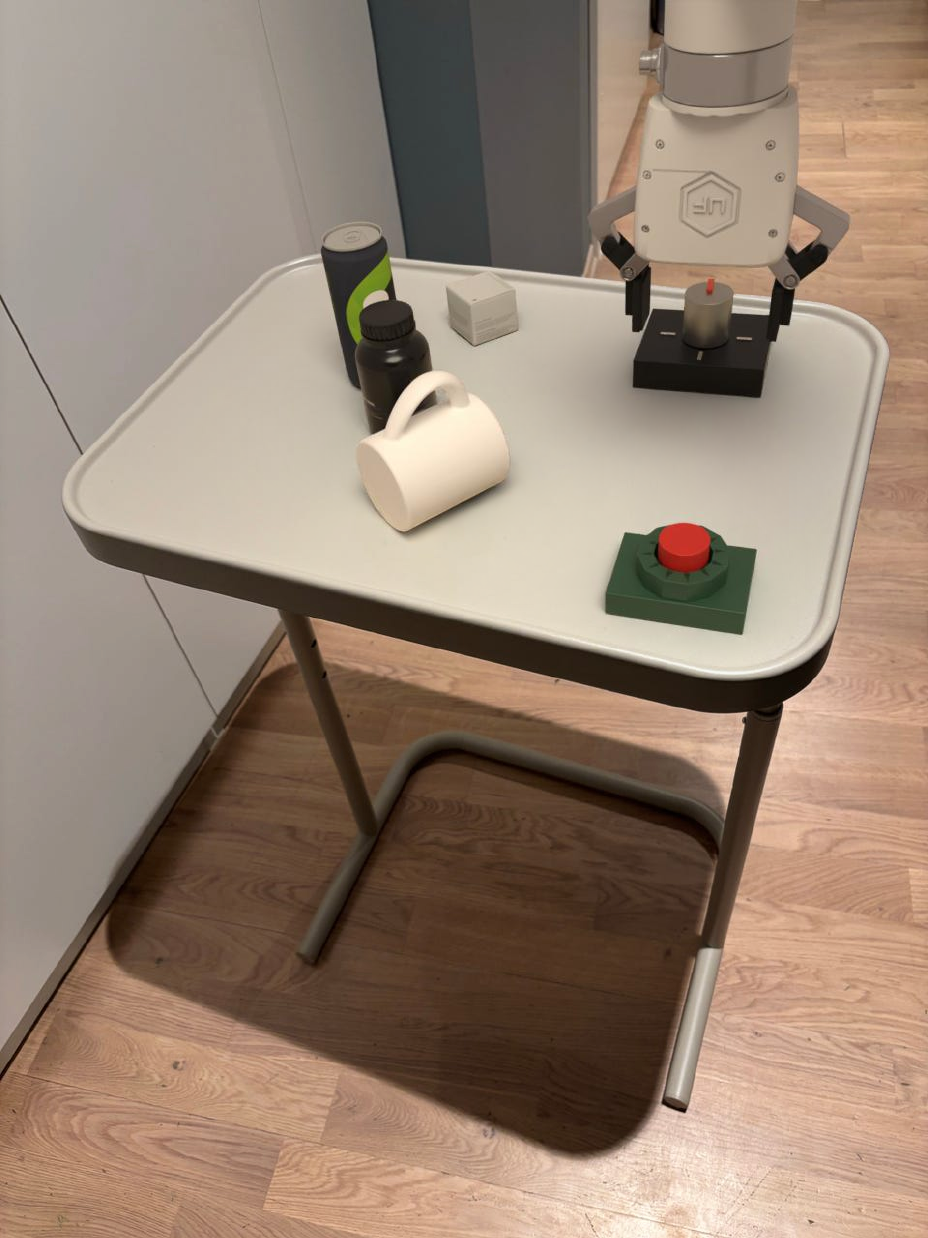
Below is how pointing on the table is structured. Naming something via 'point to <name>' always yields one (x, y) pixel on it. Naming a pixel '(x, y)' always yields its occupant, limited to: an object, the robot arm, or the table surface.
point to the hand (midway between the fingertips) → (705, 327)
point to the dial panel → (702, 357)
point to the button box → (681, 585)
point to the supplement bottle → (390, 359)
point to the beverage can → (355, 280)
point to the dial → (707, 314)
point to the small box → (482, 307)
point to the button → (684, 547)
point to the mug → (432, 453)
